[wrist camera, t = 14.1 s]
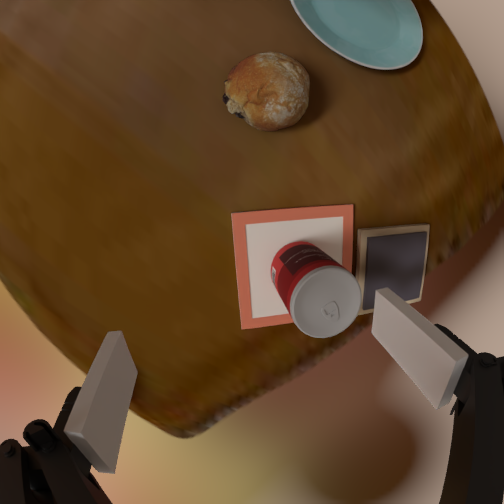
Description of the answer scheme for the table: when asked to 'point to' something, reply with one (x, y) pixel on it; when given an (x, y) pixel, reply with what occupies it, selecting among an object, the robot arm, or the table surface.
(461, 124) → the table surface
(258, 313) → the print sheet
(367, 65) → the plate
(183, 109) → the table surface
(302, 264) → the canned food
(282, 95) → the bread roll
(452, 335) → the robot arm
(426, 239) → the ink pad
